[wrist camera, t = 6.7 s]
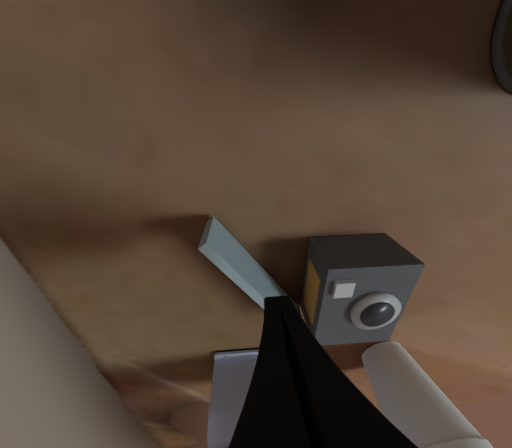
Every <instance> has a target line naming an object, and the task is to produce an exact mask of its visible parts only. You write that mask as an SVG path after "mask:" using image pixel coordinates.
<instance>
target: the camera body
mask: <svg viewBox="0 0 512 448" xmlns="http://www.w3.org/2000/svg"><path fill="white" fill-rule="evenodd" d="M424 265H425V264H424V263H423V262H421V261H420V260H419V259H418V258H416V257H415V256H414V255H412V254H411V253H410V252H409V251H407V250H406V249H405V248H403V247H402V246H401V245H399V244H398V243H397V242H396V241H394V240H393V239H392V238H390V237H389V236H388V235H387V234H385V233H384V234H362V235H341V236H319V237H309V242H308V250H307V258H306V266H305V273H304V281H303V289H302V296H301V304H300V307H301V310H302V313H303V316H304V319H305V322H306V325H307V326H308V328H309V329H310V331H311V332H312V334H313V335H314V336H315V338H316V339H317V341H318V342H319V343H320V345H321V346H322V345H335V344H348V343H361V342H374V341H387V340H389V338H390V336H391V334H392V332H393V330H394V328H395V326H396V324H397V322H398V320H399V317H400V315H401V313H402V311H403V309H404V307H405V305H406V303H407V301H408V299H409V297H410V295H411V292H412V290H413V288H414V286H415V284H416V282H417V280H418V278H419V276H420V274H421V272H422V269H423V267H424Z"/></svg>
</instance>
